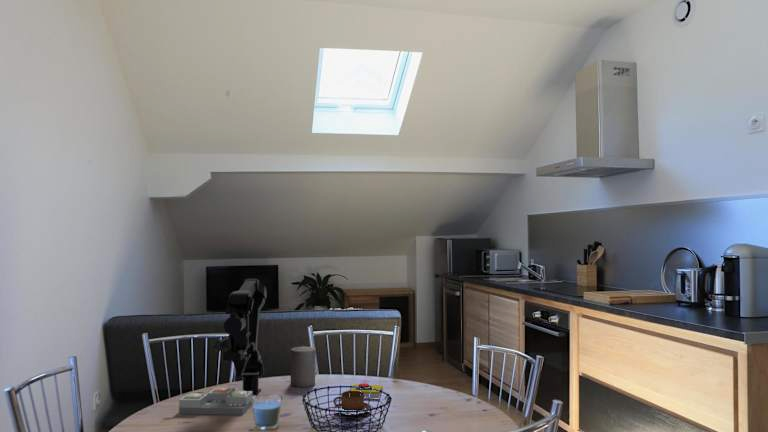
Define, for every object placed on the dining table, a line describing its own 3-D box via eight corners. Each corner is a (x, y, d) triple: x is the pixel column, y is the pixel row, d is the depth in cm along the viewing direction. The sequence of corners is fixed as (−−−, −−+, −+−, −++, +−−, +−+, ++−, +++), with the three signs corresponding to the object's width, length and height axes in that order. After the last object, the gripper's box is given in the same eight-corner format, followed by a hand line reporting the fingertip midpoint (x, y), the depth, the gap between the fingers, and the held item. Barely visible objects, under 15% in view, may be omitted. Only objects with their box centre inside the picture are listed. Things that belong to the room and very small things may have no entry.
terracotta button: (217, 394, 193) (217, 387, 193) (230, 394, 193) (230, 387, 193) (212, 398, 188) (212, 390, 188) (226, 398, 188) (226, 391, 188)
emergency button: (349, 380, 206) (388, 382, 204) (349, 392, 206) (388, 394, 203) (343, 387, 197) (385, 388, 194) (343, 399, 196) (385, 401, 194)
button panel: (196, 400, 194) (197, 387, 194) (255, 401, 193) (256, 388, 193) (178, 413, 179) (179, 399, 179) (242, 414, 178) (242, 400, 178)
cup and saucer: (341, 420, 172) (341, 400, 173) (329, 410, 183) (329, 391, 184) (376, 415, 177) (376, 396, 178) (362, 405, 188) (362, 387, 189)
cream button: (234, 397, 188) (234, 390, 189) (248, 398, 188) (248, 390, 188) (230, 402, 184) (230, 394, 184) (244, 402, 183) (244, 394, 184)
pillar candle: (285, 384, 215) (285, 345, 216) (304, 379, 223) (304, 342, 224) (301, 388, 209) (302, 348, 210) (320, 383, 217) (320, 345, 217)
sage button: (189, 400, 185) (189, 393, 185) (203, 401, 185) (203, 393, 185) (183, 405, 180) (183, 397, 180) (198, 405, 180) (198, 397, 180)
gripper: (225, 325, 197) (225, 370, 196) (206, 334, 178) (205, 383, 177) (256, 325, 196) (256, 370, 195) (240, 334, 177) (239, 383, 177)
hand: (239, 376), depth 186 cm, fingers closed
